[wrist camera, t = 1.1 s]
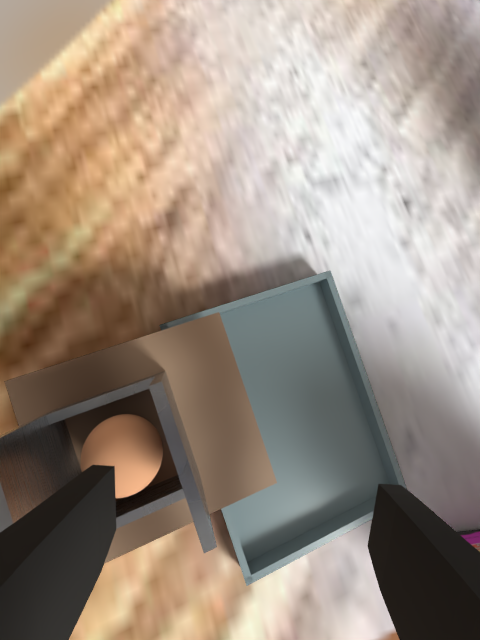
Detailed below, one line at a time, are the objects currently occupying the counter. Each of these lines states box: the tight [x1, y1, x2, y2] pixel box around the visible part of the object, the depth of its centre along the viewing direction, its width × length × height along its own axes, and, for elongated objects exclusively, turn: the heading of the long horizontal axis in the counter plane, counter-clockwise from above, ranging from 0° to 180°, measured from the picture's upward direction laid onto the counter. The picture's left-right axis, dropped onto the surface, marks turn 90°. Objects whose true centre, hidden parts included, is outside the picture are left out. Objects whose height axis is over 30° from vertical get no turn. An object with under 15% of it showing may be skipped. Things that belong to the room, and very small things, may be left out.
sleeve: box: [0, 371, 217, 553], centre depth 12 cm, size 5×5×6 cm
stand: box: [5, 312, 277, 563], centre depth 17 cm, size 10×9×4 cm
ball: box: [80, 414, 163, 498], centre depth 14 cm, size 3×3×3 cm
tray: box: [160, 271, 407, 585], centre depth 20 cm, size 11×15×2 cm
